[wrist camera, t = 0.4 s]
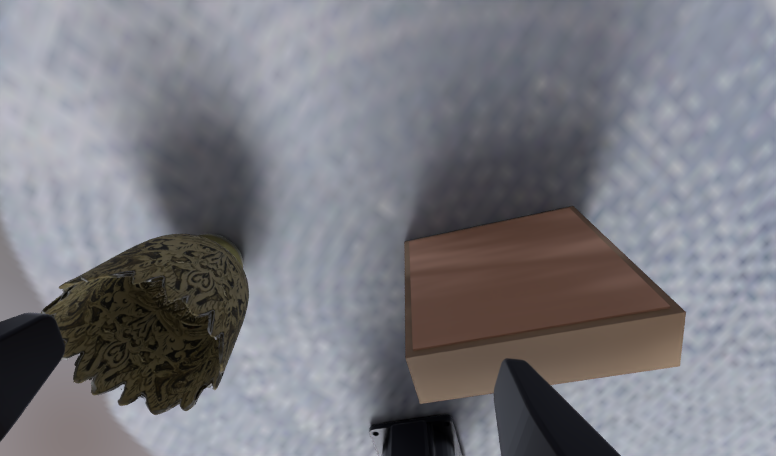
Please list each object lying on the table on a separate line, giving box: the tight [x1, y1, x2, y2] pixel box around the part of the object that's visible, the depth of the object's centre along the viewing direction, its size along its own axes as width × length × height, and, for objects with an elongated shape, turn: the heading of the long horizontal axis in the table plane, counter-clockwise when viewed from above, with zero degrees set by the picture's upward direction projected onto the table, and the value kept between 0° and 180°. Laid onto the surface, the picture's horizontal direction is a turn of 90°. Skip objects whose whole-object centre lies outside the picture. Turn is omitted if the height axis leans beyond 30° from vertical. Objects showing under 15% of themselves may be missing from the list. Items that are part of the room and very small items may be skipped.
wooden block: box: [404, 206, 686, 404], centre depth 17 cm, size 3×10×9 cm, turn 105°
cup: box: [41, 234, 249, 415], centre depth 19 cm, size 8×7×8 cm
